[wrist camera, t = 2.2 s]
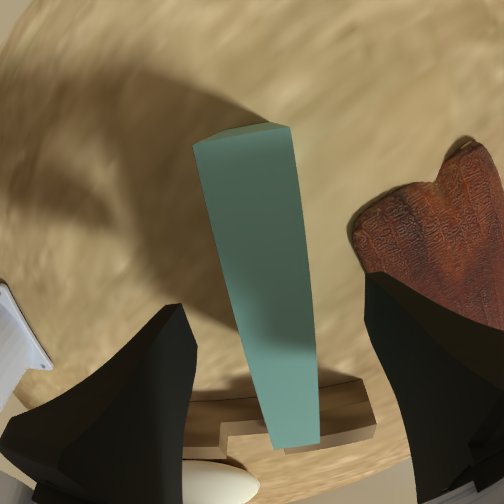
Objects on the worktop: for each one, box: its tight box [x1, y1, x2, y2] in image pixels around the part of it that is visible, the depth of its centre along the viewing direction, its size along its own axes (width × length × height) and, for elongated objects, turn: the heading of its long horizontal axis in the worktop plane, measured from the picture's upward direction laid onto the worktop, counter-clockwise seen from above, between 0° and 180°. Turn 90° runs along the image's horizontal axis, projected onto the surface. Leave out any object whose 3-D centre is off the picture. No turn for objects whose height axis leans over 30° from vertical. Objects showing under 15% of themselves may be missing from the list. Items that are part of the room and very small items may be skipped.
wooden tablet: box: [352, 140, 504, 331], centre depth 17 cm, size 27×10×2 cm, turn 38°
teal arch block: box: [192, 122, 320, 450], centre depth 11 cm, size 12×2×7 cm, turn 10°
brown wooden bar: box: [182, 380, 377, 459], centre depth 18 cm, size 16×2×4 cm, turn 100°
